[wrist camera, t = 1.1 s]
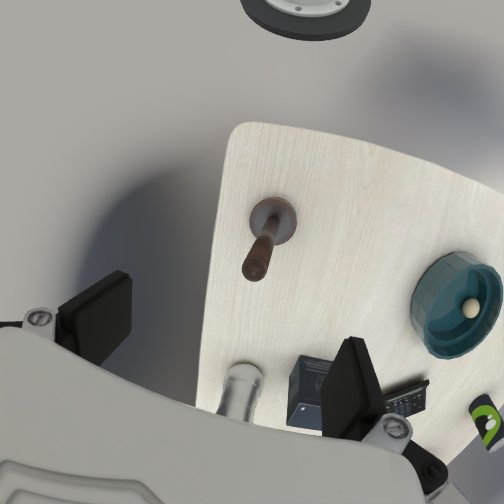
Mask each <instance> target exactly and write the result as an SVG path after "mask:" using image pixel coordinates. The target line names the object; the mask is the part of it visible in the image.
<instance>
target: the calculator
mask: <svg viewBox="0 0 504 504" xmlns="http://www.w3.org/2000/svg"><path fill="white" fill-rule="evenodd" d="M429 384H430V383H429V380H425V381H423V382H421V383H418V384H416V385H413V386H411V387H409V388H406V389H403V390H401V391H398V392H396V393H393V394H390V395H387V396H384V397H383V398H384V402H385V405H386V408H387V412H388V413H396V414H399V415H401V416H403V417H405V418H406V417H408V416H411V415H413V414H416V413H418V412H421V411H423V410H425V402H426V388H427V386H428V385H429Z"/></svg>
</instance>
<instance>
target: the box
mask: <svg viewBox="0 0 504 504" xmlns="http://www.w3.org/2000/svg"><path fill="white" fill-rule="evenodd" d="M332 363H333V362H329V361H324V360H320V359H315V358H310V357H306V356H301V355H300V356H299V359H298V361H297V363H296V365H295V367H294V369H293V371H292V374H291V376H290V378H289V390H288V406H287V421H286V425H287V426H292V427H298V428H305V429H312V430H319V431H322V418H321V399H320V388H321V384H322V382H323V381H324V379H325V377H326V375H327V373H328V371H329V369H330V367H331V365H332Z"/></svg>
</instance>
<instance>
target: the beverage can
mask: <svg viewBox="0 0 504 504" xmlns="http://www.w3.org/2000/svg"><path fill="white" fill-rule="evenodd" d="M469 413H470V415H471V417H472V419H473V421H474V423H475V425H476V427H477V429H478V431H479V434H480V436H481V438H482V440H483V442H484V445H485V447H486V449H487V450H488V451H489V453H492V452H494V451H495V450H497V449H499V448H500V447H502V446H503V445H504V422H503V420H502V418H501V416H500V414H499V412H498V411H497V409H496V407H495V405H494V404H493V402H492V400H491V399H490V397H489V396H488V395H482V396H480V397H478V398H477V399H476V400H475V401H474V402H473V403H472V404H471V406H470V409H469Z"/></svg>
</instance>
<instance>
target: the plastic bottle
mask: <svg viewBox="0 0 504 504" xmlns="http://www.w3.org/2000/svg"><path fill="white" fill-rule="evenodd" d="M263 387H264V381H263V375H262V373H261V372H260V371H259V370H258V369H257V368H256V367H254V366H253V365H250V364H238V365H235V366H233V367H232V368H230V369H229V371H228V372H227V374H226V375H225V377H224V383H223V393H222V397H221V402H220V405H219V407H218V409H217V412H216V414H218V415H222V416H225V417H229V418H232V419H236V420H240V421H244V422H248V423H252V424H253V419H254V412H255V408H256V405H257V402H258V398H259V397H260V395H261V392H262V390H263Z"/></svg>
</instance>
